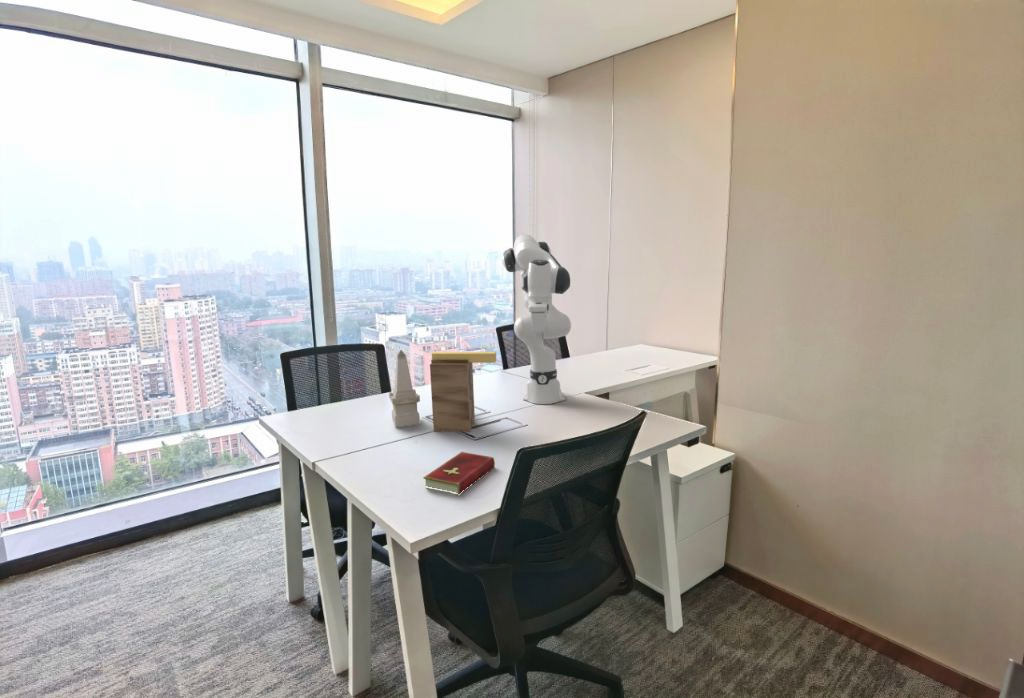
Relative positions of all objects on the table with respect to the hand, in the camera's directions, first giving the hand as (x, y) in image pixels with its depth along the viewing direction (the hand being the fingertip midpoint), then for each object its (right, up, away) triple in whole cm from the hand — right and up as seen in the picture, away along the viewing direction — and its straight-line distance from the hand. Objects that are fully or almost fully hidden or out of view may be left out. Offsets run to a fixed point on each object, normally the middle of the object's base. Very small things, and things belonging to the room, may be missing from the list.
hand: (540, 341), depth 194 cm
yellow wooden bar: (-29, -8, +3) cm, 30 cm away
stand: (-33, -33, +9) cm, 47 cm away
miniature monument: (-53, -33, +16) cm, 64 cm away
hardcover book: (-26, -42, -37) cm, 62 cm away
